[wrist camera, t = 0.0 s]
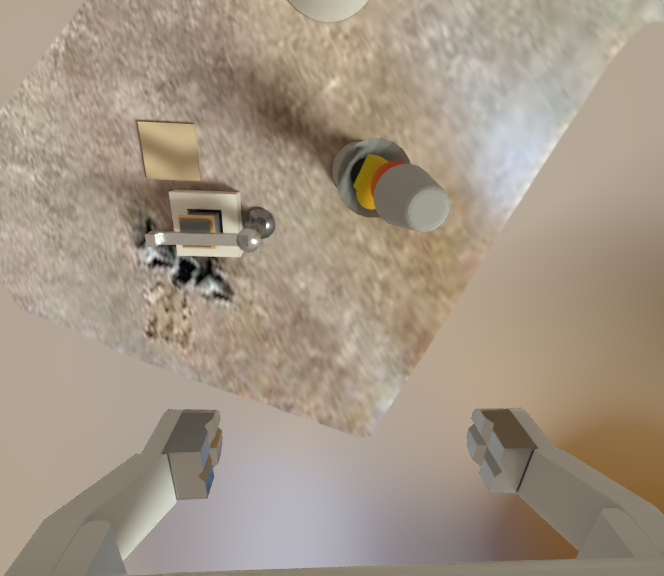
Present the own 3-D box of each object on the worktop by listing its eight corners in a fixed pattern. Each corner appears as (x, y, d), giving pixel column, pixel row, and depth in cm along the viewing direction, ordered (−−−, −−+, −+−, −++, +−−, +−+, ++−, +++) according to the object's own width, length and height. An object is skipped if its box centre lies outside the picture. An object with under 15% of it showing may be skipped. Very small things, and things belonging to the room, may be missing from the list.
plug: (194, 206, 54) (176, 216, 47) (224, 207, 55) (211, 217, 47) (198, 235, 56) (180, 249, 49) (227, 236, 56) (214, 250, 49)
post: (244, 207, 55) (230, 220, 46) (274, 208, 55) (267, 221, 46) (245, 237, 57) (233, 254, 48) (275, 238, 57) (268, 255, 48)
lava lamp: (346, 128, 51) (401, 101, 19) (397, 155, 53) (527, 173, 21) (321, 184, 54) (333, 244, 22) (370, 208, 56) (448, 295, 24)
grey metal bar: (260, 228, 46) (258, 231, 44) (261, 250, 47) (259, 255, 45) (151, 224, 45) (143, 228, 43) (155, 247, 46) (148, 252, 44)
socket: (176, 189, 53) (168, 192, 50) (239, 191, 54) (235, 194, 51) (184, 250, 57) (177, 255, 54) (243, 251, 58) (240, 257, 55)
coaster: (138, 121, 49) (137, 121, 49) (194, 124, 50) (193, 124, 49) (148, 178, 52) (147, 178, 52) (200, 180, 53) (199, 181, 52)
